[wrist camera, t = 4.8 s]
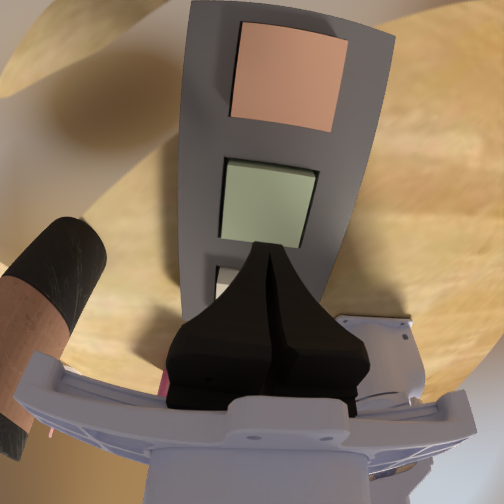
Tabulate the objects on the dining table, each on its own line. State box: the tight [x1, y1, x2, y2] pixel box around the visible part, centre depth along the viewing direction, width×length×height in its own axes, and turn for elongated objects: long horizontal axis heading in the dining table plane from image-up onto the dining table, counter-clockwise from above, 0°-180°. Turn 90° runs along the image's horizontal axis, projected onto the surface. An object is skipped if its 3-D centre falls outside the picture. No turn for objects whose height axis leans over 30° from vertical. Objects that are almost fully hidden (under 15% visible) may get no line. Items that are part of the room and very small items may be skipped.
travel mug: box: [0, 217, 107, 461], centre depth 16 cm, size 8×8×20 cm
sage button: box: [221, 158, 315, 248], centre depth 18 cm, size 5×5×2 cm
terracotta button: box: [231, 22, 348, 132], centre depth 13 cm, size 5×5×2 cm
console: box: [178, 0, 396, 321], centre depth 19 cm, size 11×24×3 cm, turn 173°
